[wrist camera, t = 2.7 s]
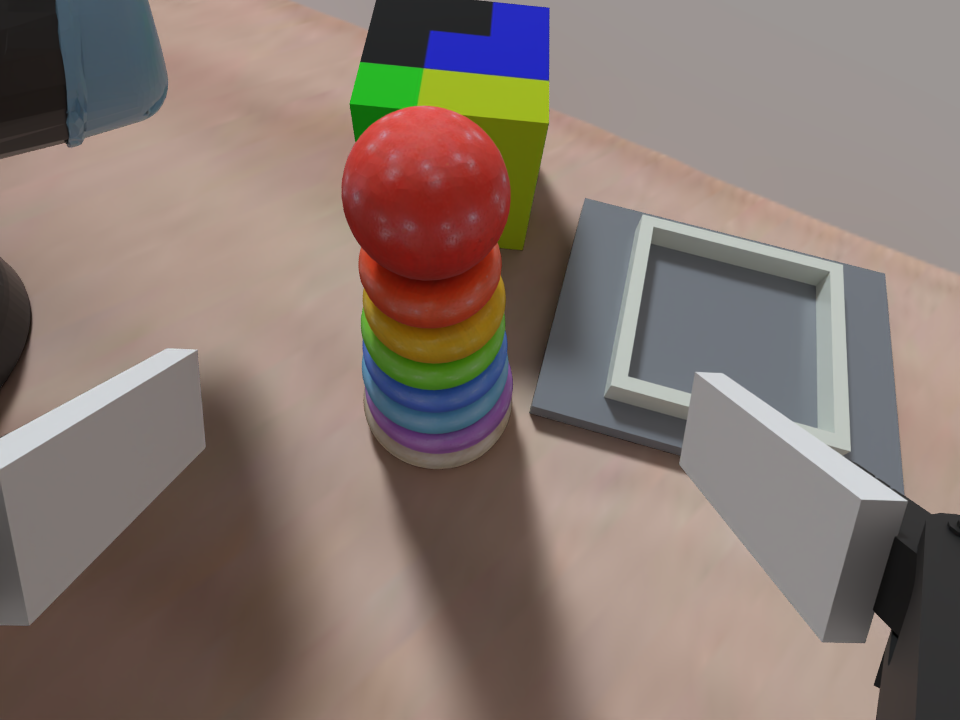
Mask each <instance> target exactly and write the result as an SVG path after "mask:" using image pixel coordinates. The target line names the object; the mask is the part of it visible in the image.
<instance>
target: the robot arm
mask: <svg viewBox="0 0 960 720" xmlns="http://www.w3.org/2000/svg"><path fill="white" fill-rule="evenodd" d="M167 90H168V75H167V70H166V66H165V61H164V57H163V53H162V49H161V45H160V41H159V37H158V34H157V30H156V27H155V23H154V19H153V16H152V12H151V9H150V5H149V2H148V0H0V159H3V158H7V157H11V156H15V155H18V154H22V153H26V152H30V151H34V150H38V149H42V148H46V147H50V146H54V145H58V144H62V143H66V144H67V146H68V147H71V148H72V147H76V146H78V145H81V144H82V142H83V140H84V138H87V137H90V136H93V135H97V134H100V133H103V132H107V131H110V130H114V129H117V128H120V127H124V126H127V125H130V124H134V123H137V122H140V121H143V120H146V119H147V118H149V117H151V116H153V115H154V114H155V113H156V112H157V111H158V110H159V109H160V108H161V106H162V104H163V103H164V100H165V98H166V95H167ZM29 325H30V304H29V298H28V294H27V291H26V289H25V286H24V284H23V282H22V280H21V279H20V277H19V276H18V274H17V273H16V272H15V271H14V270H13V268H12V267H10V266H9V265H8V264H7V263H6V262H5V261H4V260H3V259H2V258H1V257H0V388H1V386H2V385H3V384H4V382H5V381H6V379H7V378H8V377H9V375H10V373H11V372H12V370H13V369H14V367H15V365H16V363H17V361H18V359H19V357H20V355H21V353H22V351H23V348H24V345H25V342H26V339H27V335H28V331H29ZM205 448H206V443H205V432H204V420H203V408H202V397H201V385H200V374H199V362H198V350H192V349H170V348H167V349H165V350H163V351H161V352H159V353H158V354H156V355H154V356H152V357H150V358H148V359H146V360H145V361H143V362H141V363H139V364H137V365H135V366H133V367H132V368H130V369H128V370H126V371H124V372H122V373H120V374H119V375H117V376H115V377H113V378H111V379H109V380H107V381H106V382H104V383H102V384H100V385H98V386H96V387H94V388H93V389H91V390H89V391H87V392H85V393H83V394H81V395H80V396H78V397H76V398H74V399H72V400H70V401H68V402H67V403H65V404H63V405H61V406H59V407H57V408H55V409H54V410H52V411H50V412H48V413H46V414H44V415H42V416H41V417H39V418H37V419H35V420H33V421H31V422H29V423H28V424H26V425H24V426H22V427H20V428H18V429H16V430H15V431H13V432H11V433H8V434H6V435H4V436H2V437H0V625H17V626H30V625H31V624H32V623H33V622H34V621H35V620H36V619H37V618H38V617H39V616H40V615H41V614H42V613H43V612H44V611H45V610H46V609H47V608H48V607H49V606H50V604H51V603H52V602H53V601H54V600H55V599H56V598H57V597H58V596H59V595H60V594H61V593H62V592H63V591H64V590H65V589H66V588H67V587H68V586H69V585H70V584H71V583H72V582H73V581H74V580H75V579H76V578H77V577H78V576H79V575H80V574H81V573H82V572H83V571H84V570H85V569H86V568H87V567H88V566H89V565H90V564H91V563H92V562H93V561H94V560H95V559H96V558H97V557H98V556H99V555H100V554H101V553H102V552H103V551H104V550H105V549H106V548H107V547H108V546H109V545H110V544H111V543H112V542H113V541H114V540H115V539H116V538H117V537H118V536H119V535H120V534H121V533H122V532H123V531H124V530H125V529H126V528H127V527H128V526H129V525H130V524H131V523H132V522H133V521H134V520H135V519H136V518H137V516H138V515H139V514H140V513H141V512H142V511H143V510H144V509H145V508H146V507H147V506H148V505H149V504H150V503H151V502H152V501H153V500H154V499H155V498H156V497H157V496H158V495H159V494H160V493H161V492H162V491H163V490H164V489H165V488H166V487H167V486H168V485H169V484H170V483H171V482H172V481H173V480H174V479H175V478H176V477H177V476H178V475H179V474H180V473H181V472H182V471H183V470H184V469H185V468H186V467H187V466H188V465H189V464H190V463H191V462H192V461H193V460H194V459H195V458H196V457H197V456H198V455H199V454H200V453H201V452H202V451H203V450H204V449H205ZM679 465H680V466H681V467H682V469H683V470H684V471H685V472H686V474H687V475H688V476H689V477H690V479H691V480H692V481H693V482H694V484H695V485H696V486H697V487H698V489H699V490H700V491H701V492H702V494H703V495H704V496H705V497H706V499H707V500H708V501H709V502H710V504H711V505H712V506H713V507H714V508H715V510H716V511H717V512H718V513H719V515H720V516H721V517H722V518H723V520H724V521H725V522H726V523H727V525H728V526H729V527H730V528H731V530H732V531H733V532H734V533H735V535H736V536H737V537H738V538H739V540H740V541H741V542H742V543H743V545H744V546H745V547H746V548H747V550H748V551H749V552H750V553H751V555H752V556H753V557H754V558H755V559H756V561H757V562H758V563H759V564H760V566H761V567H762V568H763V569H764V571H765V572H766V573H767V574H768V576H769V577H770V578H771V579H772V581H773V582H774V583H775V584H776V586H777V587H778V588H779V589H780V591H781V592H782V593H783V594H784V596H785V597H786V598H787V599H788V601H789V602H790V603H791V604H792V605H793V607H794V608H795V609H796V610H797V612H798V613H799V614H800V615H801V617H802V618H803V619H804V620H805V622H806V623H807V624H808V625H809V627H810V628H811V629H812V630H813V632H814V633H815V634H816V635H817V637H818V638H819V639H820V640H821V642H834V643H865V642H866V638H867V635H868V632H869V628H870V625H871V622H872V619H873V615H874V612H875V613H876V614H877V615H878V616H879V617H880V618H881V619H882V620H883V621H884V622H885V623H886V624H887V625H888V626H889V627H890V628H891V632H890V635H889V638H888V642H887V645H886V648H885V651H884V654H883V657H882V661H881V664H880V667H879V670H878V673H877V676H876V680H875V683H874V686H876V687H878V688H880V692H879V700H878V707H877V715H876V720H960V515H957V514H946V513H938V514H930V513H929V512H928V511H926V510H925V509H923V508H922V507H920V506H919V505H917V504H916V503H914V502H913V501H911V500H910V499H909V498H907V497H906V496H904V495H903V494H901V493H900V492H898V491H897V490H895V489H891V488H890V485H888V484H887V483H885V482H884V481H882V480H881V479H879V478H875V475H873V474H872V473H871V472H869V471H868V470H866V469H865V468H863V467H862V466H860V465H859V464H857V463H855V462H853V461H851V460H849V459H846V458H845V457H843V456H842V455H841V454H839V453H838V452H836V451H835V450H833V449H832V448H830V447H829V446H827V445H826V444H825V443H823V442H822V441H820V440H819V439H817V438H816V437H814V436H813V435H812V434H810V433H809V432H807V431H806V430H804V429H803V428H801V427H800V426H799V425H797V424H796V423H794V422H793V421H791V420H790V419H788V418H787V417H786V416H784V415H783V414H781V413H780V412H778V411H777V410H775V409H774V408H773V407H771V406H770V405H768V404H767V403H765V402H764V401H762V400H761V399H759V398H758V397H757V396H755V395H754V394H752V393H751V392H749V391H748V390H746V389H745V388H744V387H742V386H741V385H739V384H738V383H736V382H735V381H733V380H732V379H731V378H729V377H728V376H726V375H725V374H723V373H708V372H695V375H694V381H693V387H692V393H691V398H690V404H689V410H688V416H687V422H686V428H685V433H684V439H683V445H682V451H681V457H680V463H679Z"/></svg>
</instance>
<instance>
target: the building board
mask: <svg viewBox="0 0 960 720" xmlns="http://www.w3.org/2000/svg"><path fill="white" fill-rule="evenodd" d="M695 372H708V373H723V374H725V375H726V376H728V377H729V378H731V379H732V380H733V381H735V382H736V383H738V384H739V385H741V386H742V387H744V388H745V389H746V390H748V391H749V392H751V393H752V394H754V395H755V396H757V397H758V398H759V399H761V400H762V401H764V402H765V403H767V404H768V405H770V406H771V407H773V408H774V409H775V410H777V411H778V412H780V413H781V414H783V415H784V416H786V417H787V418H788V419H790V420H791V421H793V422H794V423H796V424H797V425H799V426H800V427H801V428H803V429H804V430H806V431H807V432H809V433H810V434H812V435H813V436H814V437H816V438H817V439H819V440H820V441H822V442H823V443H825V444H826V445H827V446H829V447H830V448H832V449H833V450H835V451H836V452H838V453H839V454H841V455H842V456H843V457H845V458H846V459H849V460H851V461H853V462H855V463H857V464H859V465H860V466H862V467H863V468H865V469H866V470H868V471H869V472H871V473H872V474H873V475H875V478H879V479H881V480H882V481H884V482H885V483H887V484H888V485H890V488H891V489H895V490H897V491H898V492H900V493H901V494H903V495H904V485H903V474H902V463H901V451H900V440H899V428H898V417H897V405H896V394H895V383H894V371H893V360H892V348H891V337H890V326H889V314H888V303H887V291H886V280H885V274H884V273H880V272H876V271H872V270H868V269H864V268H860V267H856V266H852V265H848V264H844V263H840V262H836V261H832V260H828V259H824V258H820V257H817V256H813V255H809V254H805V253H801V252H797V251H793V250H789V249H785V248H781V247H777V246H773V245H769V244H765V243H761V242H757V241H753V240H749V239H745V238H741V237H737V236H733V235H729V234H725V233H721V232H717V231H714V230H710V229H706V228H702V227H698V226H694V225H690V224H686V223H682V222H678V221H674V220H670V219H666V218H662V217H658V216H654V215H650V214H646V213H642V212H638V211H634V210H630V209H626V208H622V207H618V206H614V205H610V204H607V203H603V202H599V201H595V200H591V199H587V198H585V201H584V204H583V207H582V211H581V214H580V218H579V222H578V226H577V230H576V234H575V238H574V242H573V245H572V249H571V253H570V257H569V261H568V265H567V269H566V273H565V276H564V280H563V284H562V288H561V292H560V296H559V300H558V304H557V307H556V311H555V315H554V319H553V323H552V327H551V331H550V335H549V339H548V342H547V346H546V350H545V354H544V358H543V362H542V366H541V370H540V373H539V377H538V381H537V385H536V389H535V393H534V397H533V401H532V404H531V408H530V412H529V413H531V414H535V415H538V416H542V417H545V418H549V419H552V420H556V421H559V422H563V423H566V424H570V425H574V426H577V427H581V428H584V429H588V430H591V431H595V432H598V433H602V434H605V435H609V436H612V437H616V438H620V439H623V440H627V441H630V442H634V443H637V444H641V445H644V446H648V447H651V448H655V449H658V450H662V451H666V452H669V453H673V454H676V455H680V456H681V451H682V445H683V439H684V433H685V428H686V422H687V416H688V410H689V404H690V398H691V393H692V387H693V381H694V375H695Z"/></svg>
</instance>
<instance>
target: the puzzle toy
mask: <svg viewBox="0 0 960 720" xmlns="http://www.w3.org/2000/svg"><path fill="white" fill-rule="evenodd" d="M413 106H435V107H440V108H445V109H448V110H451V111H454V112H456V113H459V114H461V115H463V116H465V117H467V118H468V119H470V120H471V121H473V122H474V123H476V124H477V125H478V126H479V127H480V128H481V129H483V130H484V131H485V132H486V133H487V135H488V136H489V137H490V138H491V139H492V141H493V142H494V143H495V145H496V146H497V148H498V150H499V151H500V153H501V155H502V158H503V160H504V163H505V166H506V169H507V172H508V176H509V180H510V188H511V202H510V211H509V215H508V219H507V223H506V225H505V228H504V230H503V233H502V235H501V236H500V239H499V241H498V242H497V243H498V245H499V248H503V249H515V250H523V247H524V242H525V237H526V232H527V227H528V222H529V218H530V213H531V208H532V203H533V198H534V193H535V188H536V183H537V179H538V174H539V169H540V164H541V159H542V154H543V149H544V145H545V140H546V135H547V130H548V125H549V8H546V7H536V6H527V5H517V4H508V3H498V2H488V1H479V0H376V3H375V7H374V11H373V15H372V19H371V23H370V26H369V30H368V34H367V38H366V42H365V46H364V50H363V54H362V57H361V61H360V65H359V69H358V73H357V77H356V81H355V85H354V88H353V92H352V96H351V100H350V110H351V116H352V123H353V129H354V136H355V142H356V141H357V140H358V139H359V137H360V136H361V135H362V134H363V132H364V131H365V130H366V129H367V128H368V127H369V126H370V125H372V124H373V123H374V122H376V121H377V120H379V119H380V118H382V117H384V116H386V115H387V114H389V113H392V112H394V111H397V110H400V109H403V108H407V107H413Z"/></svg>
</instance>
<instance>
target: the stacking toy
mask: <svg viewBox="0 0 960 720" xmlns="http://www.w3.org/2000/svg"><path fill="white" fill-rule="evenodd" d="M342 202H343V208H344V213H345V217H346V219H347V222H348V225H349V227H350V229H351V231H352V233H353V235H354V237H355V239H356V240H357V242H358V243H359V245H360V246H361V250H360V255H359V274H360V279H361V283H362V285H363V287H364V290H363V310H362V315H361V331H362V337H363V359H362V375H363V380H364V384H365V389H364V400H363V401H364V411H365V416H366V419H367V422H368V425H369V427H370V429H371V431H372V433H373V434H374V436H375V437H376V439H377V440H378V441H379V443H380V444H381V445H382V446H383V447H384V448H385V449H386V450H387V451H388V452H389V453H391V454H392V455H394V456H395V457H397V458H398V459H400V460H402V461H404V462H406V463H408V464H411V465H414V466H418V467H422V468H429V469H446V468H453V467H458V466H461V465H464V464H467V463H469V462H471V461H474V460H475V459H477V458H479V457H480V456H482V455H483V454H484V453H485V452H487V451H488V450H489V449H490V448H491V447H492V446H493V445H494V444H495V443H496V441H497V440H498V439H499V438H500V436H501V435H502V433H503V431H504V430H505V428H506V426H507V423H508V420H509V417H510V413H511V407H512V390H513V378H512V372H511V367H510V364H509V362H508V355H507V336H506V331H505V315H504V311H505V303H506V296H505V287H504V283H503V280H502V277H501V267H502V260H501V253H500V249H499V245H498V243H497V242H498V241H499V239H500V236H501V235H502V233H503V230H504V228H505V225H506V223H507V219H508V215H509V211H510V202H511V188H510V180H509V176H508V172H507V169H506V166H505V163H504V160H503V158H502V155H501V153H500V151H499V150H498V148H497V146H496V145H495V143H494V142H493V141H492V139H491V138H490V137H489V136H488V135H487V133H486V132H485V131H484V130H483V129H481V128H480V127H479V126H478V125H477V124H476V123H474V122H473V121H471V120H470V119H468V118H467V117H465V116H463V115H461V114H459V113H456V112H454V111H451V110H448V109H445V108H440V107H435V106H413V107H407V108H403V109H400V110H397V111H394V112H392V113H389V114H387V115H386V116H384V117H382V118H380V119H379V120H377V121H376V122H374V123H373V124H372V125H370V126H369V127H368V128H367V129H366V130H365V131H364V132H363V134H362V135H361V136H360V137H359V139H358V140H357V141H356V143H355V144H354V146H353V148H352V150H351V152H350V154H349V156H348V159H347V162H346V165H345V168H344V173H343V178H342Z"/></svg>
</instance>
